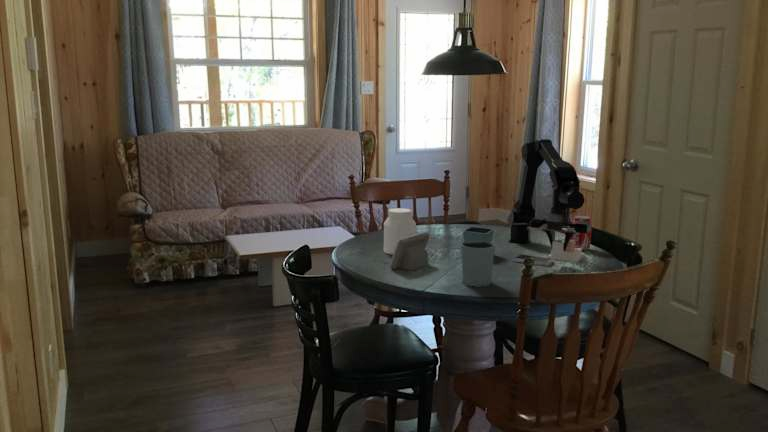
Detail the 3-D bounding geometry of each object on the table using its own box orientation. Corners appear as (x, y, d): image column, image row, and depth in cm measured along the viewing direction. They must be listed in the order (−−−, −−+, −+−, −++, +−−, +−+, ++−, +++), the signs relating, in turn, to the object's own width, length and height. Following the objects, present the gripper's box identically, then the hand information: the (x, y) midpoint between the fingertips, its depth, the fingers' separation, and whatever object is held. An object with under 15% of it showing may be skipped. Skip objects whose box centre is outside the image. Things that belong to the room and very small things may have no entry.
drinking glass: (456, 285, 200) (457, 246, 197) (464, 276, 209) (465, 239, 207) (490, 289, 196) (491, 249, 194) (496, 279, 205) (498, 241, 203)
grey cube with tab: (551, 253, 221) (552, 240, 220) (554, 251, 224) (555, 238, 223) (562, 255, 219) (563, 241, 218) (565, 252, 222) (566, 239, 221)
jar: (390, 255, 234) (391, 213, 231) (379, 249, 242) (379, 209, 240) (419, 252, 239) (420, 211, 236) (407, 246, 247) (408, 206, 244)
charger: (557, 255, 231) (558, 240, 230) (561, 252, 235) (562, 238, 234) (570, 256, 229) (571, 242, 228) (574, 254, 233) (575, 239, 232)
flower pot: (493, 253, 238) (494, 228, 236) (486, 258, 230) (487, 233, 229) (469, 250, 242) (470, 226, 240) (461, 256, 234) (462, 231, 232)
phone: (513, 261, 227) (513, 257, 227) (519, 257, 232) (519, 253, 232) (548, 266, 221) (548, 262, 221) (553, 262, 226) (553, 258, 226)
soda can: (591, 251, 241) (593, 219, 238) (570, 250, 242) (572, 218, 240) (589, 247, 247) (591, 215, 245) (569, 246, 249) (571, 214, 246)
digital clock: (419, 259, 230) (419, 229, 227) (437, 264, 223) (438, 233, 221) (383, 267, 219) (383, 235, 217) (401, 273, 212) (401, 240, 210)
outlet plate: (547, 258, 231) (548, 250, 230) (555, 252, 239) (556, 244, 239) (576, 262, 226) (577, 254, 225) (584, 256, 234) (584, 248, 234)
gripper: (525, 204, 216) (523, 251, 219) (584, 210, 207) (581, 259, 210) (536, 199, 226) (534, 244, 229) (592, 205, 216) (589, 251, 220)
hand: (558, 250), depth 222 cm, fingers closed on grey cube with tab, 3 cm apart
